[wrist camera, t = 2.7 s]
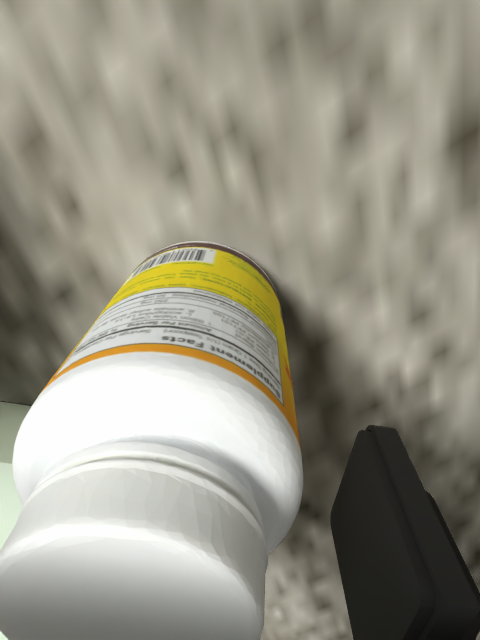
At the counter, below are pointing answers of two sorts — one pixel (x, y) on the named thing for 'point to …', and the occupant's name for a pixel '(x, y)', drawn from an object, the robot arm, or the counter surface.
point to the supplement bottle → (158, 462)
